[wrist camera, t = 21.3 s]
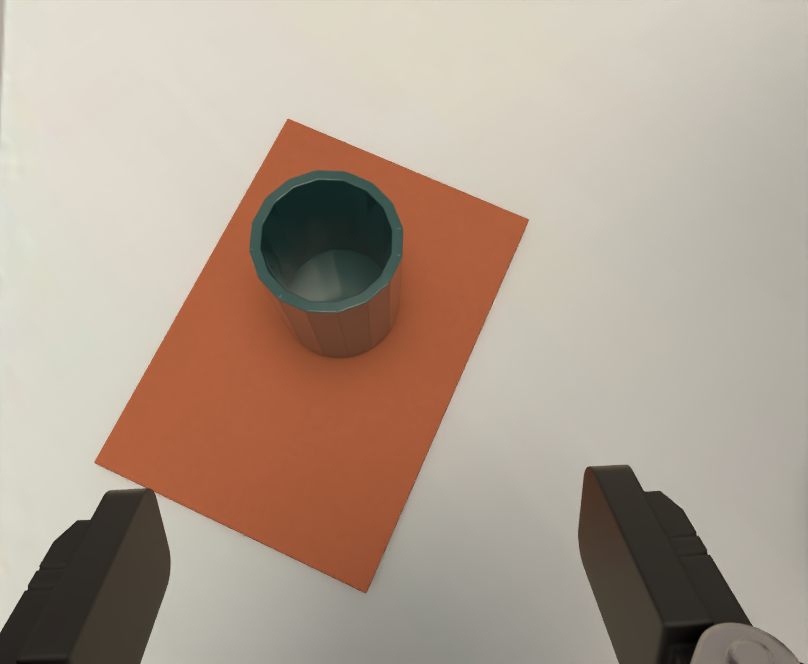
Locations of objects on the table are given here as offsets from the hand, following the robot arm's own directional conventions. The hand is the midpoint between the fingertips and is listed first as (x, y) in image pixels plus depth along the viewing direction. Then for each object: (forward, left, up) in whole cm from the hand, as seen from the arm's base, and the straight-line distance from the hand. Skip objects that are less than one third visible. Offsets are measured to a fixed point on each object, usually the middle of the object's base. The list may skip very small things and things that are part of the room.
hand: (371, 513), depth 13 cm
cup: (-8, -6, -19) cm, 22 cm away
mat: (-6, -6, -20) cm, 22 cm away
